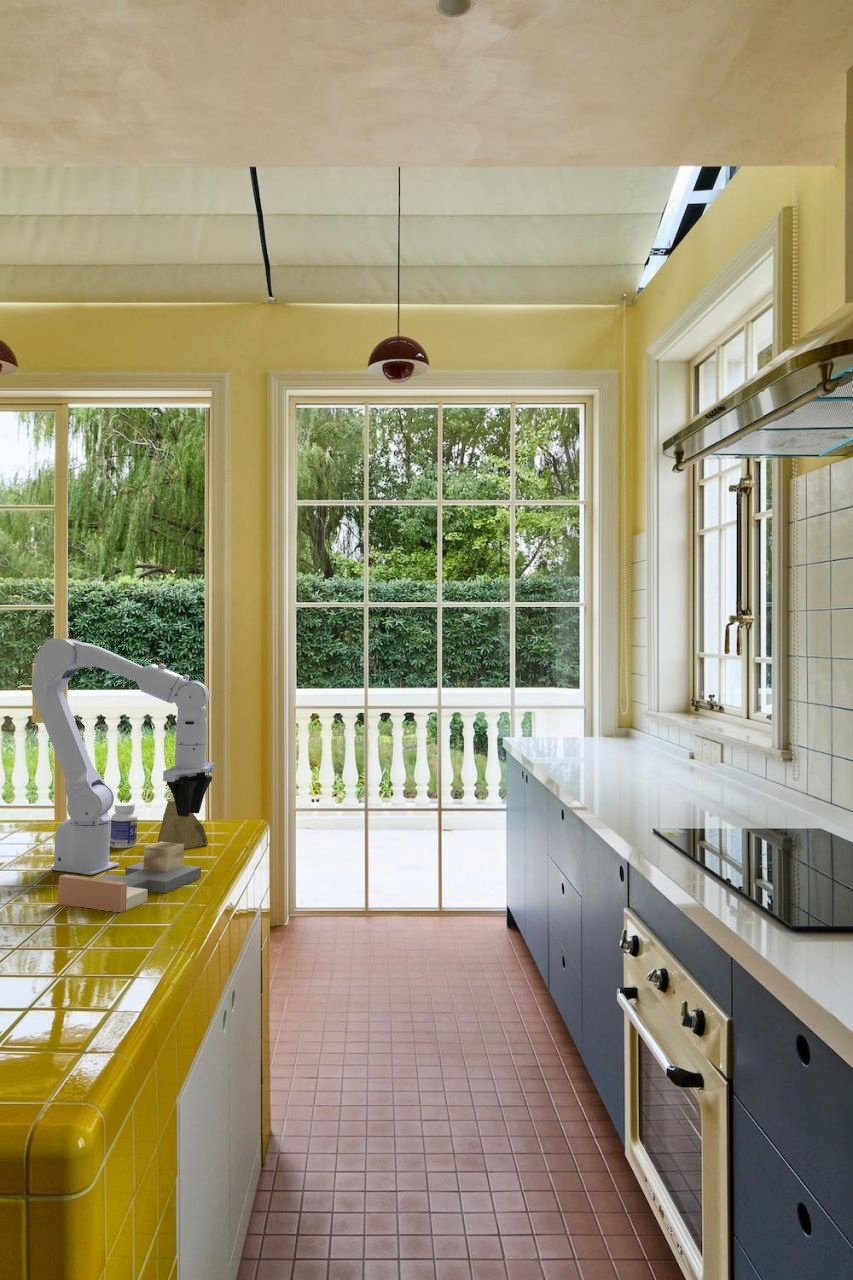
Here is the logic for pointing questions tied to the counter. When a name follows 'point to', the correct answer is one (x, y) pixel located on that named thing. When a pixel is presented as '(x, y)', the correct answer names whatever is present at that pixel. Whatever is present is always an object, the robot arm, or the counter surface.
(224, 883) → the counter surface
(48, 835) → the counter surface
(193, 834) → the rock
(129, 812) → the pill bottle
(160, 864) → the maple block
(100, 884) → the plate
